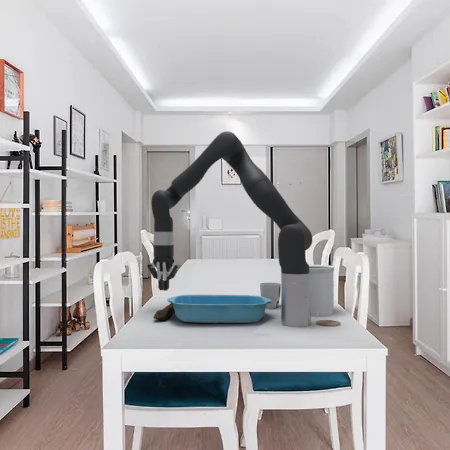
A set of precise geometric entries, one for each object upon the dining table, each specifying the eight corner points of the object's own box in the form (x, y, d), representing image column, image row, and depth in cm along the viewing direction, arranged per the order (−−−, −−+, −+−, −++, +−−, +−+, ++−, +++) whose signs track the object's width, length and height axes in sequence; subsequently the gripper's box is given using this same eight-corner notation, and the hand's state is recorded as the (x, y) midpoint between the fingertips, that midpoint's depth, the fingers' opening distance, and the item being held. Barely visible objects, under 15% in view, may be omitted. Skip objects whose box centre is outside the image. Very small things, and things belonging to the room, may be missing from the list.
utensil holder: (302, 318, 147) (302, 268, 147) (287, 310, 162) (287, 264, 162) (341, 316, 150) (341, 267, 150) (323, 309, 165) (323, 264, 165)
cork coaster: (341, 322, 141) (341, 320, 141) (339, 327, 133) (339, 325, 133) (317, 320, 144) (317, 319, 144) (313, 325, 136) (313, 324, 136)
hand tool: (171, 300, 162) (182, 300, 161) (171, 310, 162) (183, 310, 161) (151, 309, 144) (164, 309, 143) (151, 321, 144) (164, 321, 143)
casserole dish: (267, 311, 160) (267, 293, 161) (276, 324, 138) (276, 303, 138) (170, 312, 160) (170, 293, 160) (163, 325, 137) (163, 303, 137)
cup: (282, 311, 160) (282, 285, 160) (260, 311, 160) (260, 285, 160) (279, 307, 168) (279, 282, 168) (259, 307, 168) (259, 282, 168)
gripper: (184, 243, 159) (184, 289, 159) (152, 243, 164) (152, 288, 164) (175, 244, 152) (175, 292, 152) (142, 244, 157) (142, 290, 156)
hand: (163, 290), depth 158 cm, fingers closed
